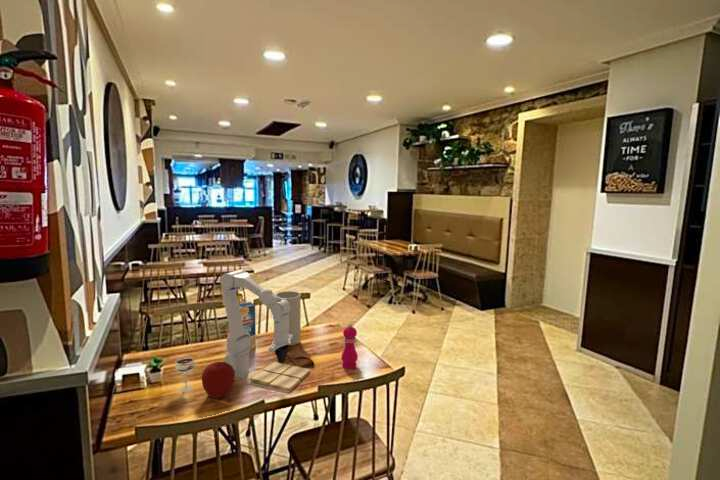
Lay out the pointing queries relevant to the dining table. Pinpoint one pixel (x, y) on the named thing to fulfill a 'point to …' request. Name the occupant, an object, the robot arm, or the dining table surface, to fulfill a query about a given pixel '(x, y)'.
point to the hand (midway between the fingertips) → (281, 362)
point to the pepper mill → (349, 348)
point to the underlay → (268, 386)
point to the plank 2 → (284, 382)
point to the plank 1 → (264, 377)
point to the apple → (218, 379)
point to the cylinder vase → (293, 314)
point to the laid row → (287, 370)
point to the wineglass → (185, 370)
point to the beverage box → (248, 320)
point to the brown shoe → (300, 358)
